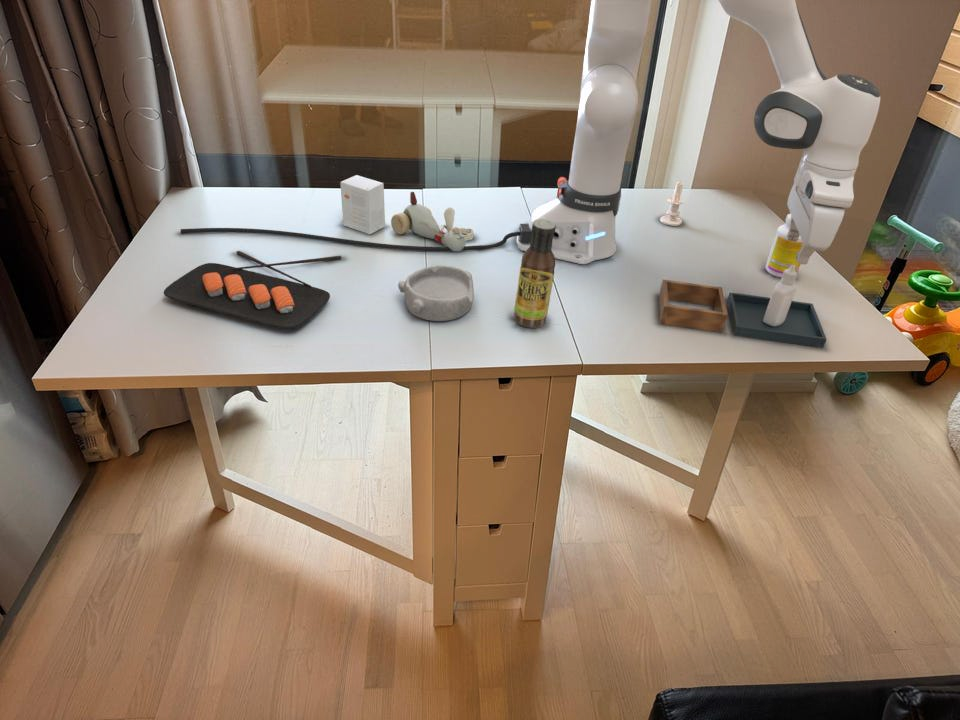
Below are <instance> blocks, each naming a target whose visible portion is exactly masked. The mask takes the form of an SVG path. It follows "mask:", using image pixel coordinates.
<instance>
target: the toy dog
mask: <svg viewBox="0 0 960 720" xmlns="http://www.w3.org/2000/svg"><path fill="white" fill-rule="evenodd" d="M409 195H410V196H409V202H410V204H409V205H407V207H405V208H404V210H403V212H398V213H395V214H393V216H391V220H390V224H391V228H392V230H393V231H394V232H395V233H396V234H398V235H404V234H407V233H408V232H409V231H411V232H413V233H414V234H416V235H419V236H421V237H423V238H427V239H431V240H435V241H436V242H437V243H439V244H442V245H443V246H444V247H449V248H450V249H451V250H453V251H452V252H461V251H460V250H462V249H463V248H464V247H465V246H466V245H467V244H466V243H467V241H472V240H473V239H474V235H475V234H474V229H472V228H469V227H468V228H467V227H457V226H454V222H455V209H454V208H453V207H447V208H446V209H445V210H444V212H443V216H444V222H445V224H441V228H440V227H439V224H438V222H437V221H436V219H435V217H434V216H433V213H432V211H431V209H430V208H429V207H427V206H424V205H422V204H420V203H418V199H417V196H416V193H415V192H414V191H410V193H409ZM444 229H446V231H447V232H445V231H444Z"/></svg>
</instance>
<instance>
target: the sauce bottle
mask: <svg viewBox="0 0 960 720" xmlns="http://www.w3.org/2000/svg"><path fill="white" fill-rule="evenodd" d="M555 229H556V225H555V223H554V222H552V221H550V220H546V219H538V220H535V221H534V222H533V225H532V238H531V243H530V247H529V248H528V249H527V250H526V251H524V253H523V255H522V256H521V262H520V263H521V264H520V267H519V272H518V274H519V275H518V281H517V289H516V294H515V303H514V314H513V319H514V321H515V322H516V323H517V324H518V325H521V326H522V327H525V328H535V329H536V328H540V327H542V326H543V325H545V323H546V321H547V316H548V312H549V307H550V300H551V295H552V289H553V282H554V279H555V278H554V277H555V268H556V258H555V257H554V254H553V252H552V250H551V249H552V241H553V235H554V233H555Z"/></svg>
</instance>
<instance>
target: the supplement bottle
mask: <svg viewBox="0 0 960 720" xmlns="http://www.w3.org/2000/svg"><path fill="white" fill-rule="evenodd" d="M790 218H791V213H790V212H789V213H788V214H787V215H786V218H785V223H784V224H781V225H779V226H778V228H777V230H776V233H775V236H774V239H773V242H772V245H771V248H770V251H769V255H768V258H767V261H766V264H765V270H766V271H767V272H768V273H769V274H770V275H772V276H774V277H776V278H780V279H781V278H782V275H783V272H784V270H786V269H789V268H790V266H791V265H795V271H796V272H797V273H798V272H799V269H800V266H801V264H798V263H797V261H796V256H797V253H798V251H800V250H801V248H802V243H803V241H802V239H801V236H799V238H798V240H797V241H796V242H795V241H789V240H788V238H787V234H788V231H789V226H790Z"/></svg>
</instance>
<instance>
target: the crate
mask: <svg viewBox="0 0 960 720" xmlns="http://www.w3.org/2000/svg"><path fill="white" fill-rule="evenodd" d="M669 301H675V302H679V303H681V302H682V303H689V304H696V305H703V306H708V307H709V306H710V307H713V310H710V309H702V308H696V307H688V306H683V305H682V306H681V305H675V304H669ZM658 307H659V308H658V309H659V311H658V312H659V324H660V325H666V326H672V327H679V328H684V329H685V328H687V329H693V330H699V331H706V332H707V331H708V332H714V333H720V334H723V331H724V329H725V325H726V321H727V320H728V314H729V313H728V310H727V303H726V299H725V295H724V290H723V287H721V286H720V287H719V286H714V285H707V284H700V283H699V284H698V283H692V282H685V281H678V280H670V279H662V281H661V286H660V290H659V295H658Z"/></svg>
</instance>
